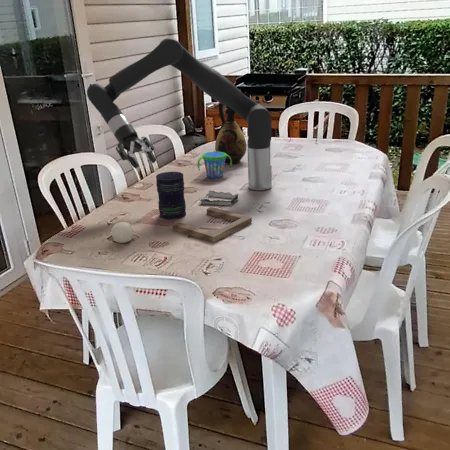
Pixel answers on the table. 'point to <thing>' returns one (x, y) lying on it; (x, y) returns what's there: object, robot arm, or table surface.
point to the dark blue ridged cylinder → (171, 195)
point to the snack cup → (214, 163)
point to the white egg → (122, 232)
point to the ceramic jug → (230, 137)
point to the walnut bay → (214, 236)
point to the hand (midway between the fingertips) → (146, 164)
